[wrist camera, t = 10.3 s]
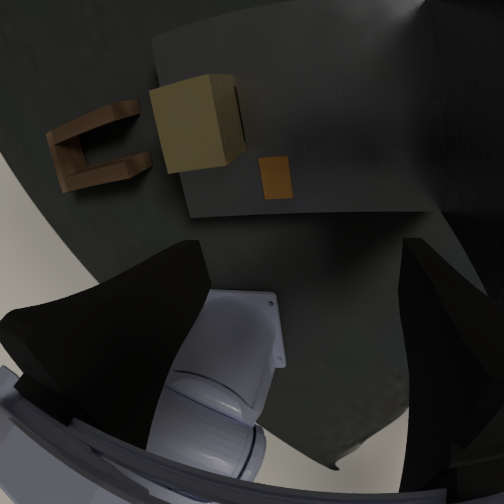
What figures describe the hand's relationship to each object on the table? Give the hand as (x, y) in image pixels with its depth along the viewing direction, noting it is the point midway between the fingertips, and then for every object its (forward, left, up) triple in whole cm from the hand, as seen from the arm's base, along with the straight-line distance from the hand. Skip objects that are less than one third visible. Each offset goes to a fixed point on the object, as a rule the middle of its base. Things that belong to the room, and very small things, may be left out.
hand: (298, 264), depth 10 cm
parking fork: (+5, +15, -10) cm, 19 cm away
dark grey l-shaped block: (+5, 0, -10) cm, 11 cm away
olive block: (+5, +5, -10) cm, 12 cm away
